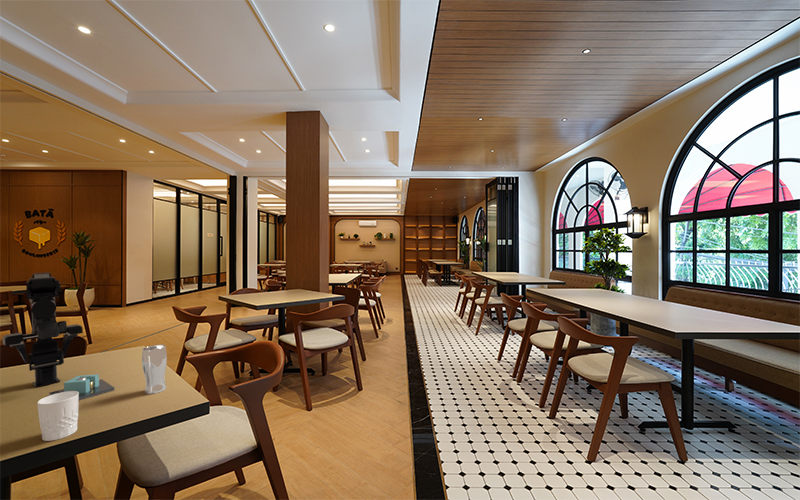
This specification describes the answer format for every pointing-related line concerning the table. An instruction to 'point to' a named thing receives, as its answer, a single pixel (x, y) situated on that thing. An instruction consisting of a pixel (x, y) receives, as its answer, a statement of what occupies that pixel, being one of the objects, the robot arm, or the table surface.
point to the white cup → (58, 415)
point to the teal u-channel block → (81, 383)
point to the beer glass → (154, 368)
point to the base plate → (91, 389)
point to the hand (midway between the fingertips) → (45, 359)
